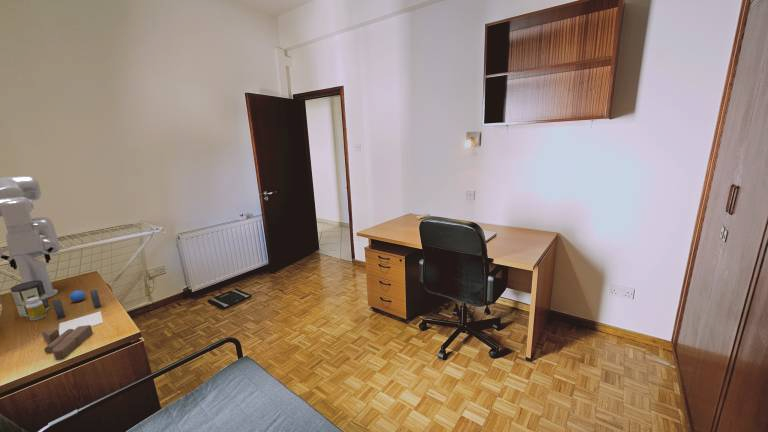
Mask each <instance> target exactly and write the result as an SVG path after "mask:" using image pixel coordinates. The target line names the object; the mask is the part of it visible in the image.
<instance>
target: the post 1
mask: <svg viewBox="0 0 768 432" xmlns="http://www.w3.org/2000/svg"><path fill="white" fill-rule="evenodd" d="M51 302H52V306H53V308H54V312H55V314H56V319H57V320H61V319H64V318H66V314H65V313H66V312H65V311H64V307H63V303H62V299H61V298H57V299H53V300H52V301H51Z"/></svg>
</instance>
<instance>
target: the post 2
mask: <svg viewBox="0 0 768 432" xmlns="http://www.w3.org/2000/svg"><path fill="white" fill-rule="evenodd" d="M89 294H90V297H91V301H92V305H93V308H94V309H100V308H101V307H102V304H101V301H100V300H101V299H100V296H99V292H98V289H92V290H90V291H89Z"/></svg>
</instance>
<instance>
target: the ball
mask: <svg viewBox="0 0 768 432" xmlns="http://www.w3.org/2000/svg"><path fill="white" fill-rule="evenodd" d="M85 297H86V294H85V292H84V291H83V290H74V291H73V292H71V293H70V295H69V299H70V300H71V301H72V302H75V303H76V302H81V301H82V300H83V299H84V298H85Z"/></svg>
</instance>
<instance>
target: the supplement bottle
mask: <svg viewBox="0 0 768 432" xmlns="http://www.w3.org/2000/svg"><path fill="white" fill-rule="evenodd" d="M26 302H27V305H26V309H27V312H28V316H27V317H28V319H29V320H30V321H37V320H41V319H44V317H47V312H46V311H47V310H46V311H45V308H44V305H43V302H42V301H39V297H33V298H29V299H27V300H26Z"/></svg>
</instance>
